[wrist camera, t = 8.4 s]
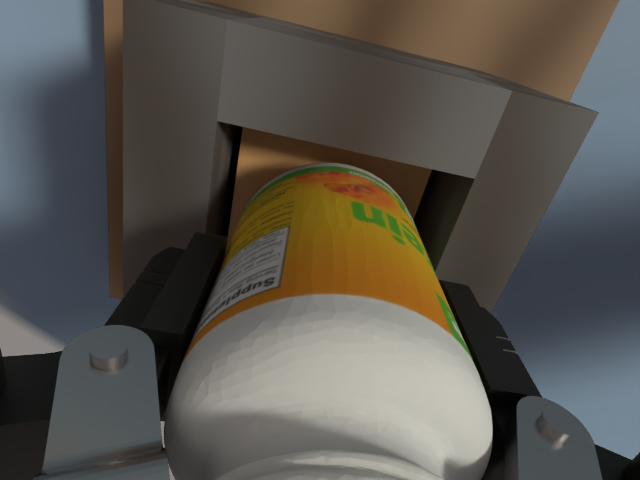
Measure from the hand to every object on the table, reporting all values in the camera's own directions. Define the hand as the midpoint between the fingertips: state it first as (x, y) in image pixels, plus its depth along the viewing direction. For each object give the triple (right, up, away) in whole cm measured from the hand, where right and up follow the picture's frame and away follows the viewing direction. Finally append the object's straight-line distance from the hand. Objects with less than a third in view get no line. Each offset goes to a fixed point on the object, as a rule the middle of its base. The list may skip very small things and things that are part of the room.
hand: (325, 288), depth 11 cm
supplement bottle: (0, +1, +2) cm, 3 cm away
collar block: (0, +5, +9) cm, 11 cm away
